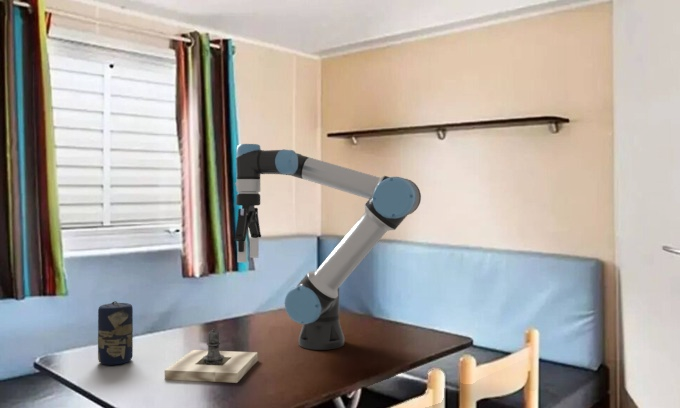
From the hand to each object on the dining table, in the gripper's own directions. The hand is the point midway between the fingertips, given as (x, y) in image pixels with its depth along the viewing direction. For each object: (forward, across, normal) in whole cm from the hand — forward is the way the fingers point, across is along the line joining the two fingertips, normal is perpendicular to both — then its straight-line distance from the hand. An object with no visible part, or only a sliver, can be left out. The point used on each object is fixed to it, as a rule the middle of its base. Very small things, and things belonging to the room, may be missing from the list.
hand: (248, 260), depth 181 cm
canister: (+29, +18, -35) cm, 49 cm away
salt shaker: (+29, +21, -4) cm, 36 cm away
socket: (+29, +21, -4) cm, 36 cm away
